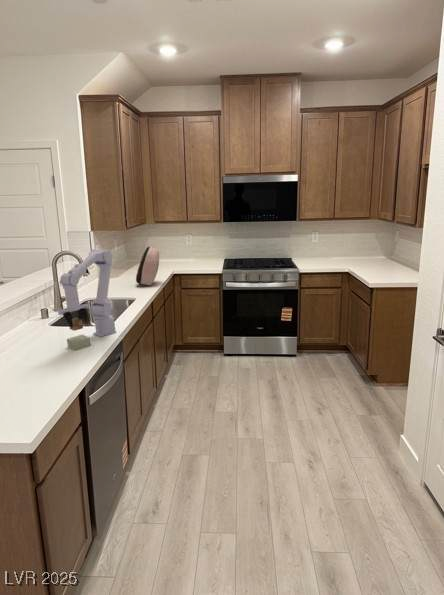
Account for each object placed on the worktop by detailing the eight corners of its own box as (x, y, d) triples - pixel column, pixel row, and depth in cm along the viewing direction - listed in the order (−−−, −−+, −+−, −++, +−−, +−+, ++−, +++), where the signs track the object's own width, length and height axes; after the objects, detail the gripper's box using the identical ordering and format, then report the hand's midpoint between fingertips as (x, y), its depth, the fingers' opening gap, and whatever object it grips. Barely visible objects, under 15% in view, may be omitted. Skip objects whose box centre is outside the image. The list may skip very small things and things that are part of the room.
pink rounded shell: (138, 282, 337) (134, 245, 329) (162, 280, 339) (158, 244, 331) (135, 288, 316) (131, 249, 308) (161, 286, 318) (157, 247, 310)
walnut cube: (78, 326, 201) (77, 317, 199) (83, 328, 198) (81, 319, 196) (69, 328, 198) (68, 320, 196) (74, 330, 194) (72, 321, 193)
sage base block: (83, 341, 205) (82, 334, 204) (91, 345, 200) (89, 337, 199) (67, 346, 200) (66, 338, 199) (75, 350, 194) (74, 342, 193)
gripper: (82, 294, 201) (86, 320, 205) (53, 300, 191) (57, 328, 195) (89, 296, 196) (93, 323, 200) (60, 302, 187) (64, 331, 190)
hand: (76, 325), depth 197 cm, fingers closed on walnut cube, 4 cm apart
